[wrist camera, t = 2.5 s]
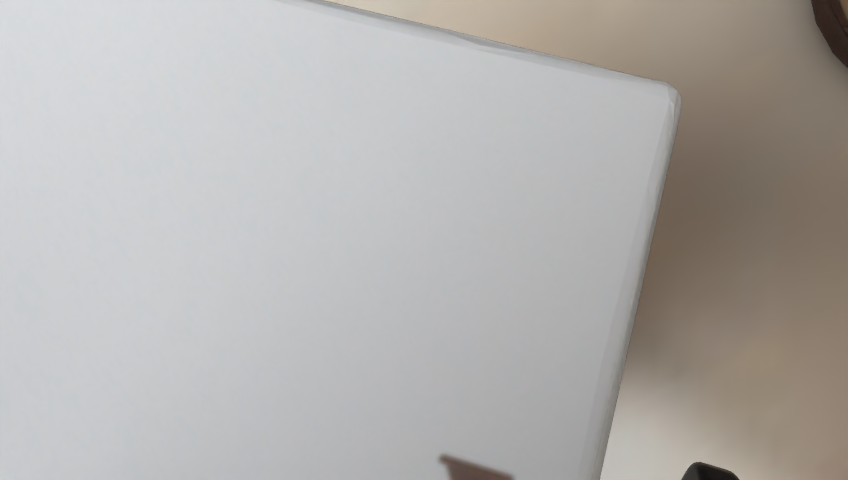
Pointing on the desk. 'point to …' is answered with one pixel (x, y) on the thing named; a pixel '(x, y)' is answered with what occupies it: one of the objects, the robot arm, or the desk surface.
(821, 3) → the dark brown curved piece
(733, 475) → the robot arm
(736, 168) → the desk surface
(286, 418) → the skincare box
